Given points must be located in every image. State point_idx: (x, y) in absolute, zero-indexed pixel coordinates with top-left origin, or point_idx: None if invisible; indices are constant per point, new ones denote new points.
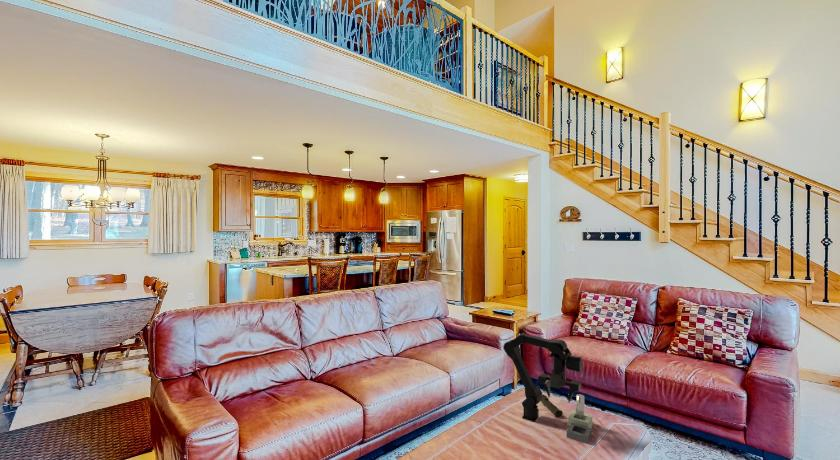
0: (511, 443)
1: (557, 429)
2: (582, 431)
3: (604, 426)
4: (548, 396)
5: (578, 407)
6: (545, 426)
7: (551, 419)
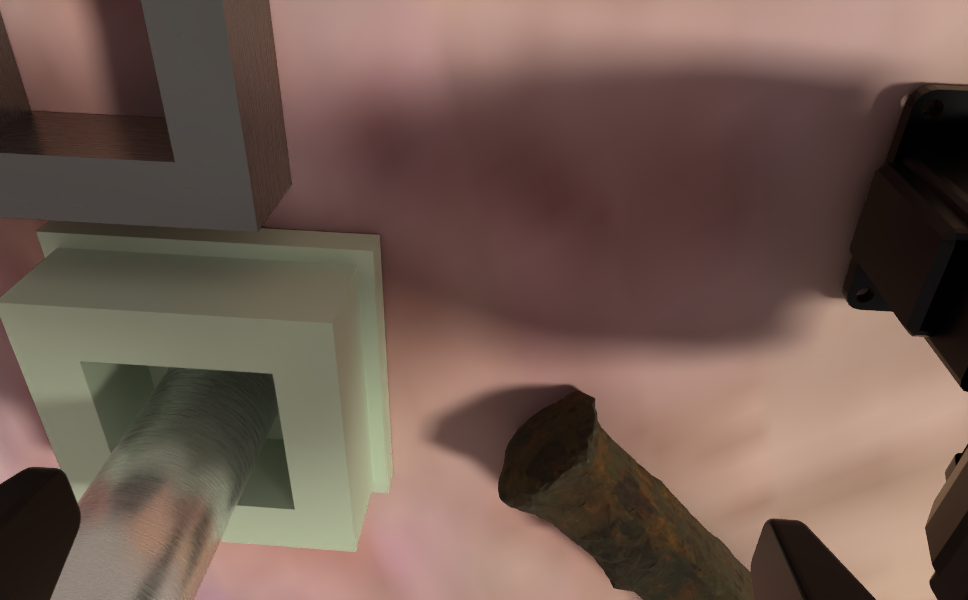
0: None
1: (477, 43)
2: (72, 130)
3: (8, 451)
4: (813, 547)
5: (114, 541)
6: (696, 31)
7: (633, 314)
